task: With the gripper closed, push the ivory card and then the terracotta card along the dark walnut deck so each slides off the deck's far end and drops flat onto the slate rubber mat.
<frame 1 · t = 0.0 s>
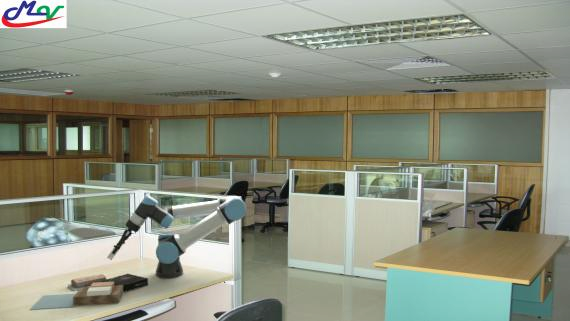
hand: (111, 255, 258), 15 cm above the table, tool tilted 35°, fingers open, 13 cm apart
mat: (57, 301, 232), on the table
ivory card: (99, 293, 231), point 4 cm above the table, touching deck
packaged product: (88, 286, 257), on the table
portable cd player: (124, 287, 256), on the table
terracotta card: (102, 288, 239), point 4 cm above the table, touching deck
deck: (99, 299, 235), on the table
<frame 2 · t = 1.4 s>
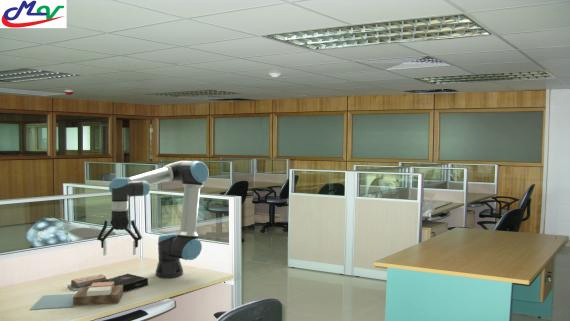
hand: (119, 254, 233), 22 cm above the table, tool pointing down, fingers open, 13 cm apart
nothing on the table moved.
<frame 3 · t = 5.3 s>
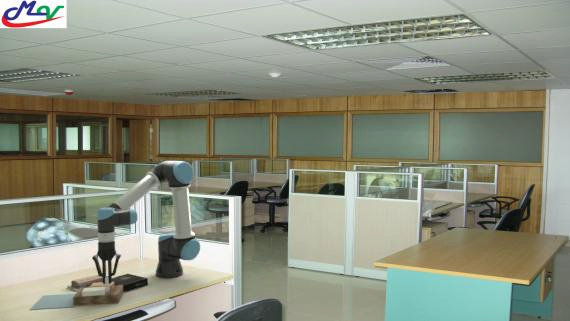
hand: (107, 290, 231), 5 cm above the table, tool pointing down, fingers closed
ivory card: (94, 293, 231), point 4 cm above the table
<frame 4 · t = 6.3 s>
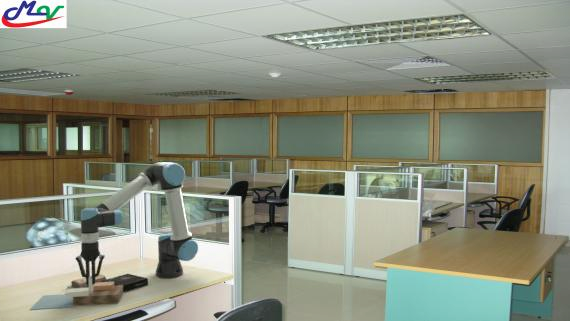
hand: (91, 291, 230), 5 cm above the table, tool pointing down, fingers closed
ivory card: (78, 294, 229), point 4 cm above the table, touching deck
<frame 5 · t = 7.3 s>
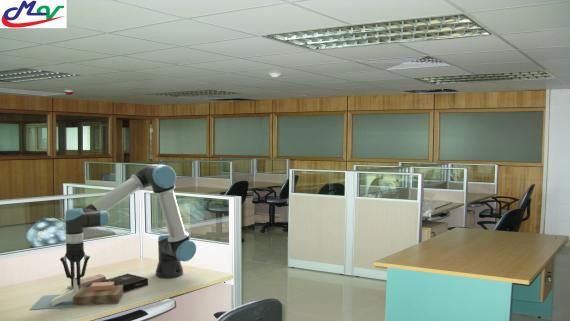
hand: (76, 292, 229), 5 cm above the table, tool pointing down, fingers closed
ivory card: (65, 299, 228), point 2 cm above the table, tilted 22°, touching gripper
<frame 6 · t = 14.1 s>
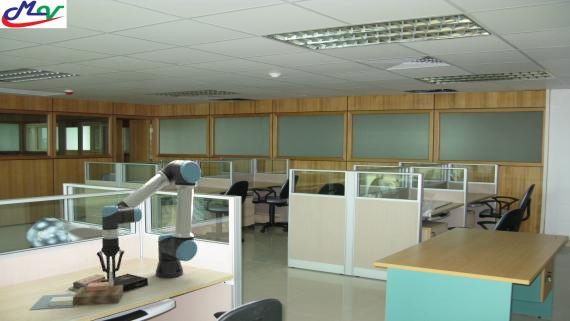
hand: (111, 285, 239), 5 cm above the table, tool pointing down, fingers closed
ivory card: (63, 303, 228), resting on mat
terracotta card: (99, 288, 238), point 4 cm above the table, touching deck
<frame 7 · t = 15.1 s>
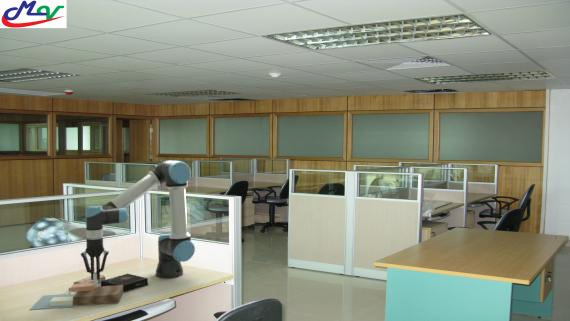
hand: (95, 286, 238), 5 cm above the table, tool pointing down, fingers closed
terracotta card: (83, 289, 237), point 4 cm above the table, touching gripper
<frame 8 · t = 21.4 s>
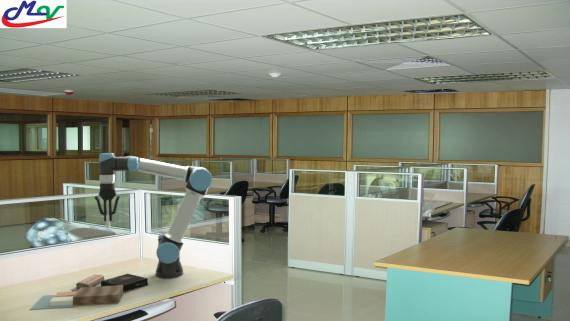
hand: (108, 227, 257), 30 cm above the table, tool pointing down, fingers closed
terracotta card: (67, 298, 236), resting on mat
at the end: ivory card inside the target area on the mat (6.0 cm from its centre), point 0.3 cm above the mat's base; terracotta card inside the target area on the mat (5.1 cm from its centre), point 0.3 cm above the mat's base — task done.
